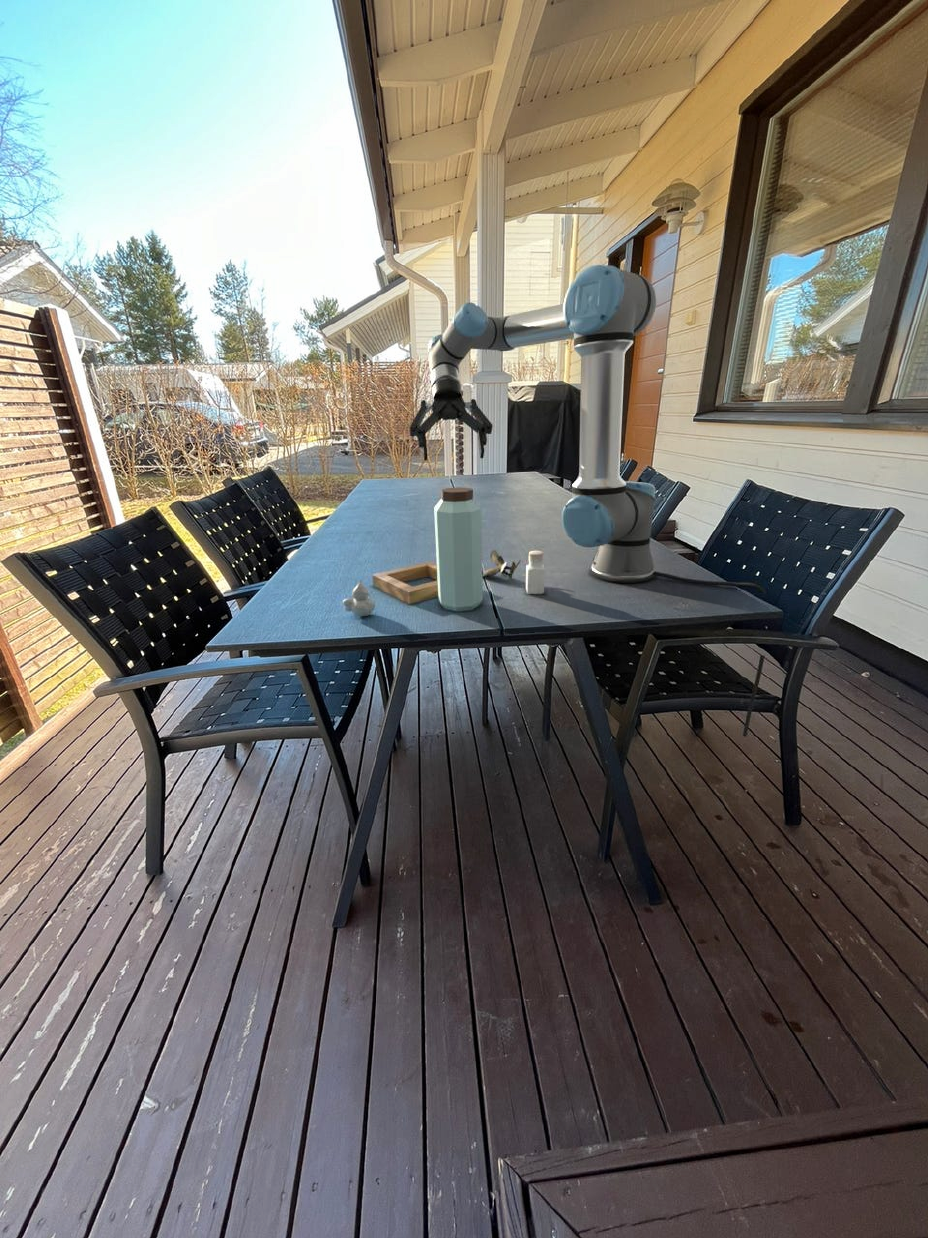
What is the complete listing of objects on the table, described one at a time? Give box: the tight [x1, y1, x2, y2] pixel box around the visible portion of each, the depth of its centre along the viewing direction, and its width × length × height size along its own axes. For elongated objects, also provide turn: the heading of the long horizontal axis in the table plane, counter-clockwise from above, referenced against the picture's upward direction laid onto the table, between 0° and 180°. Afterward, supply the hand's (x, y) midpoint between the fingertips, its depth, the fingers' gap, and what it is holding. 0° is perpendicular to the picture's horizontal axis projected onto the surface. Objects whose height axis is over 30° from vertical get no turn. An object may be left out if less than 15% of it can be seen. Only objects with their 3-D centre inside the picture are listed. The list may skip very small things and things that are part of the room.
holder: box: [372, 561, 438, 605], centre depth 127 cm, size 17×17×3 cm
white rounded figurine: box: [342, 580, 376, 617], centre depth 110 cm, size 5×7×8 cm
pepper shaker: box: [525, 550, 546, 595], centre depth 121 cm, size 4×4×10 cm
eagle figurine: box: [482, 549, 521, 581], centre depth 132 cm, size 8×7×9 cm
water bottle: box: [433, 486, 484, 612], centre depth 111 cm, size 10×10×25 cm
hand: (454, 455), depth 125 cm, fingers open, 13 cm apart
